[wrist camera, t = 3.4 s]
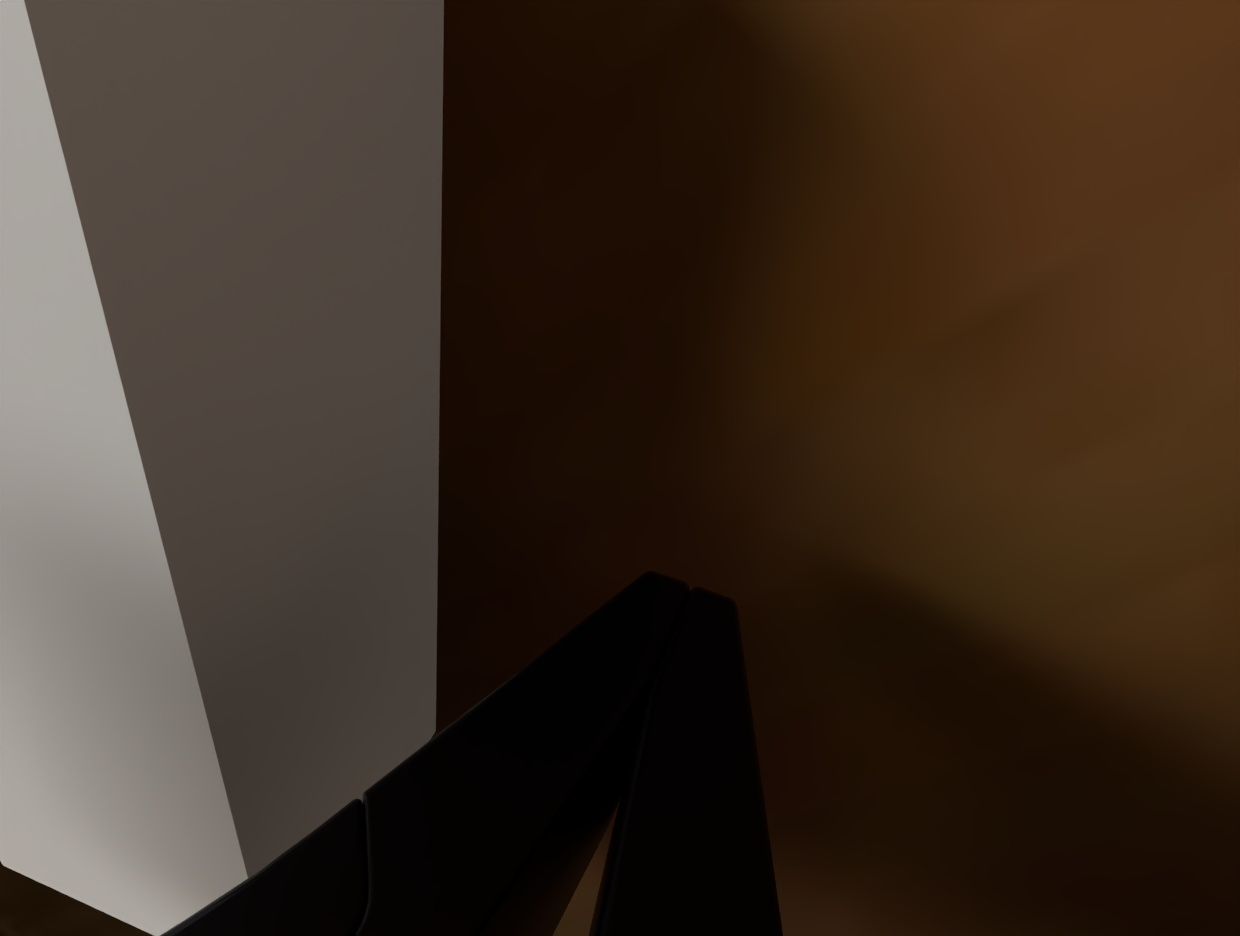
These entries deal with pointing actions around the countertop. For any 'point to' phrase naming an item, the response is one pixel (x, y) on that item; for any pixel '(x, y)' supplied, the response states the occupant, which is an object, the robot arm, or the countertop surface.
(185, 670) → the t block
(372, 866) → the robot arm
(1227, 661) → the countertop surface
